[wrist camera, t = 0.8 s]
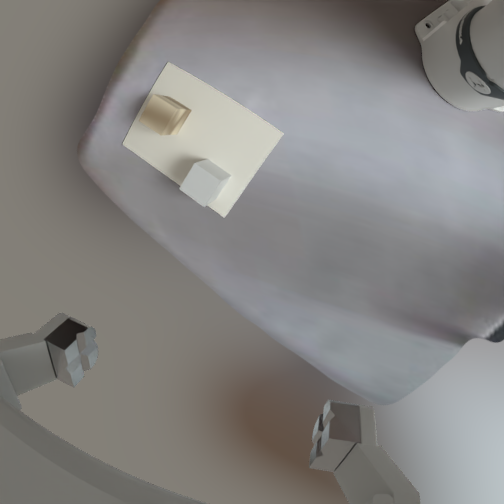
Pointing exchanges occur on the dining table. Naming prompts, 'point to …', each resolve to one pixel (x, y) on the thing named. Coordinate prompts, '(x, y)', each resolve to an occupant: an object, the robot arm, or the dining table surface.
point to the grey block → (205, 182)
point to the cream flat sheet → (205, 136)
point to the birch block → (164, 115)
